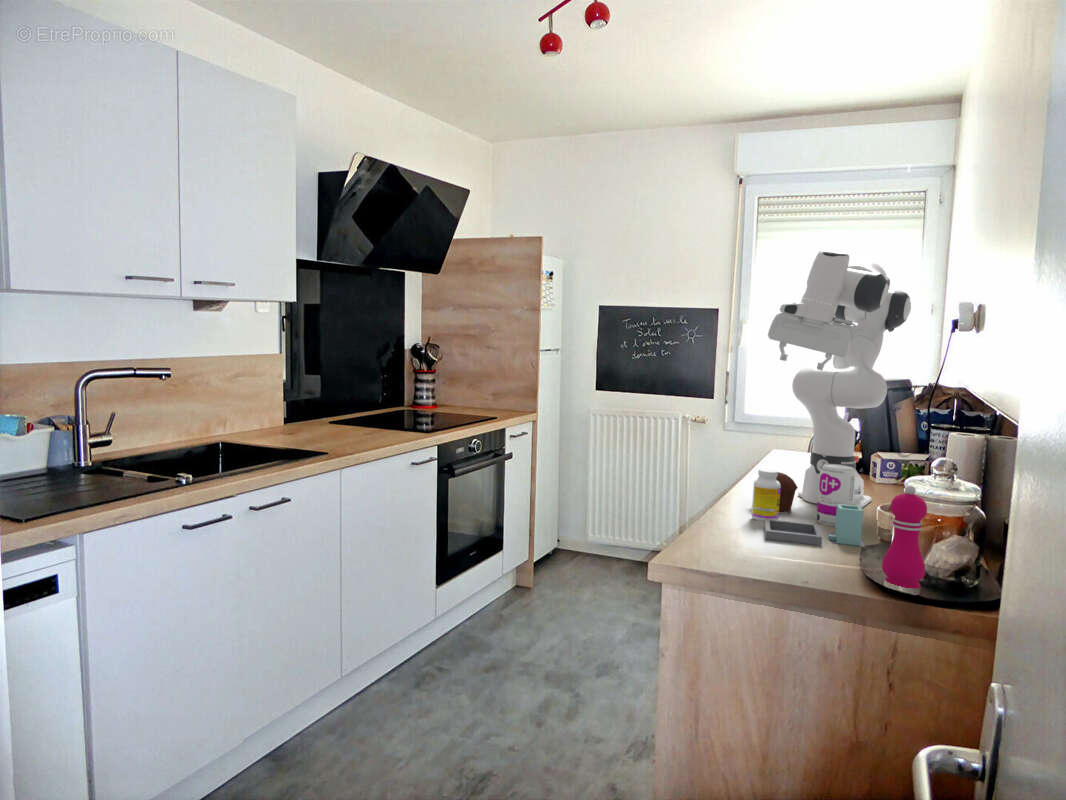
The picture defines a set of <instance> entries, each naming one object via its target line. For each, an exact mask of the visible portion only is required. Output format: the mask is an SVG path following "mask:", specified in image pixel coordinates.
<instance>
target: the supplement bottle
mask: <svg viewBox="0 0 1066 800" xmlns="http://www.w3.org/2000/svg"><path fill="white" fill-rule="evenodd" d="M778 472H779V471H778V470H776V469H769V468H759V469H758V478H759V479H758V478H756V479H755V480H754V482H753V490H752V501H751V502H752V503H751V504H752V505H751V518H752V520H754V519H755V520H754V521H760V522H765V519H771V520H779V515H780V513H779V503H780V489H781V485H780V483H779V482H778V481H777V480H776V477H777V476H778Z"/></svg>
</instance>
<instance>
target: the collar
mask: <svg viewBox="0 0 1066 800" xmlns="http://www.w3.org/2000/svg"><path fill="white" fill-rule="evenodd" d="M863 517H864V510H863V507H862V508H861V507H860V506H852V505H842V504H837V510H836V522H835V526H834V534H830V533H828V535H827V539H828V541H836V543H842V544H851V545H860V544H861V540H862V531H863V528H862V527H863Z"/></svg>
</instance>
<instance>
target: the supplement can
mask: <svg viewBox="0 0 1066 800" xmlns="http://www.w3.org/2000/svg"><path fill="white" fill-rule="evenodd" d="M854 483H855V473H854V471H853V468H852V467H850V466H846V465H838V464H824V465H823V467H822V468H821V470H820V477H819V490H818V502H817V504H816V515H815V520H816V521H817V522H818V523H820V524H821V525H825V526H829V527H835V522H836V510H837V504H842V505H852V506H853V495H854Z"/></svg>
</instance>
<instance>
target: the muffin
mask: <svg viewBox="0 0 1066 800" xmlns="http://www.w3.org/2000/svg"><path fill="white" fill-rule="evenodd" d="M757 479H759V477H758V478H757ZM776 480H777V481H778V482H779V483H780V485H781V489H780V503H779V512H783V513H789V512H790V511H792V507H793V502H794V498H795V494H796V491H797V490H798V486H797V484H796V481H794V479H793V478H792V477H790V476H789V475H787V474H786V473H783V472H779V471H778V476H777V477H776Z"/></svg>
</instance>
